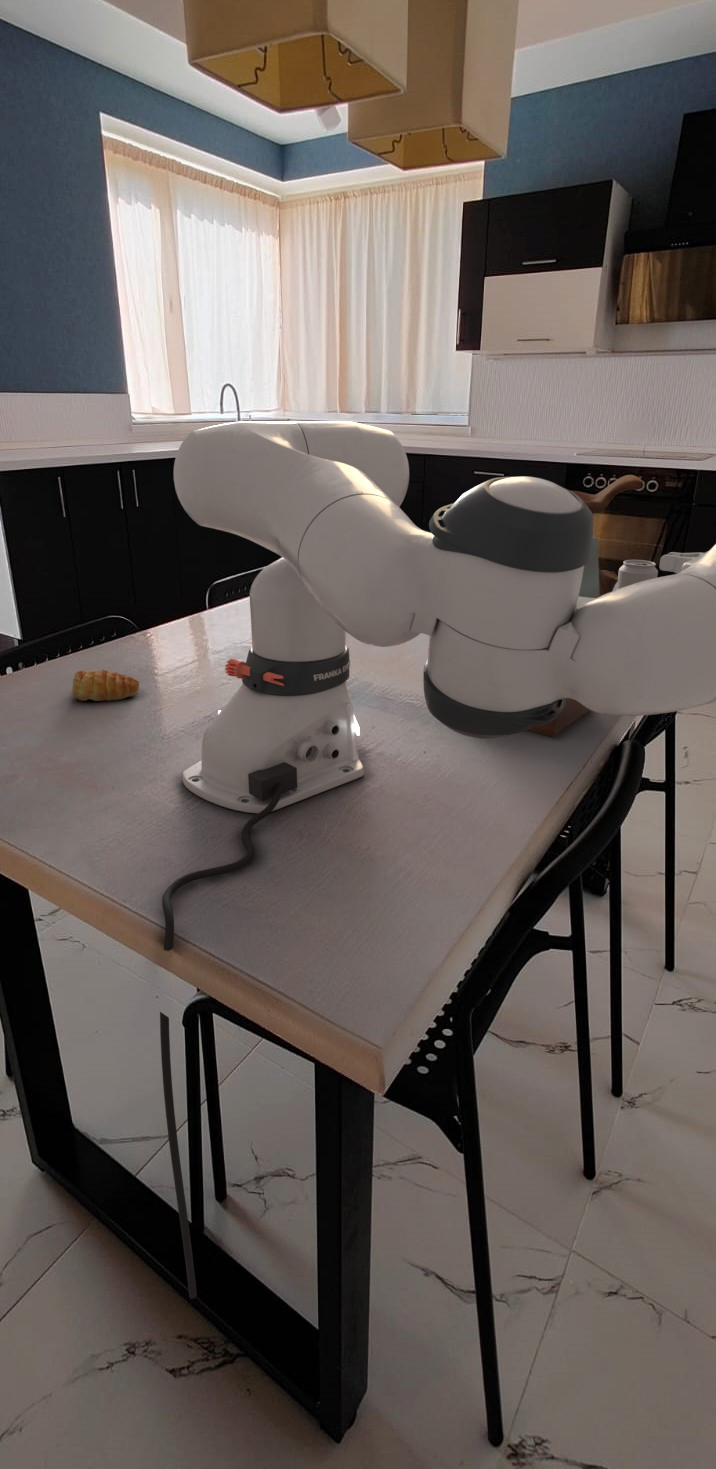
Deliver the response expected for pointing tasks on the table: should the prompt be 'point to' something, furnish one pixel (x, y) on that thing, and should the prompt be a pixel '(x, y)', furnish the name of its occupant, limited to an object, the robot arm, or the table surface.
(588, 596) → the lid
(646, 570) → the can
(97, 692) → the pastry
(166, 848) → the table surface
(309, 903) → the table surface
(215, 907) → the table surface
